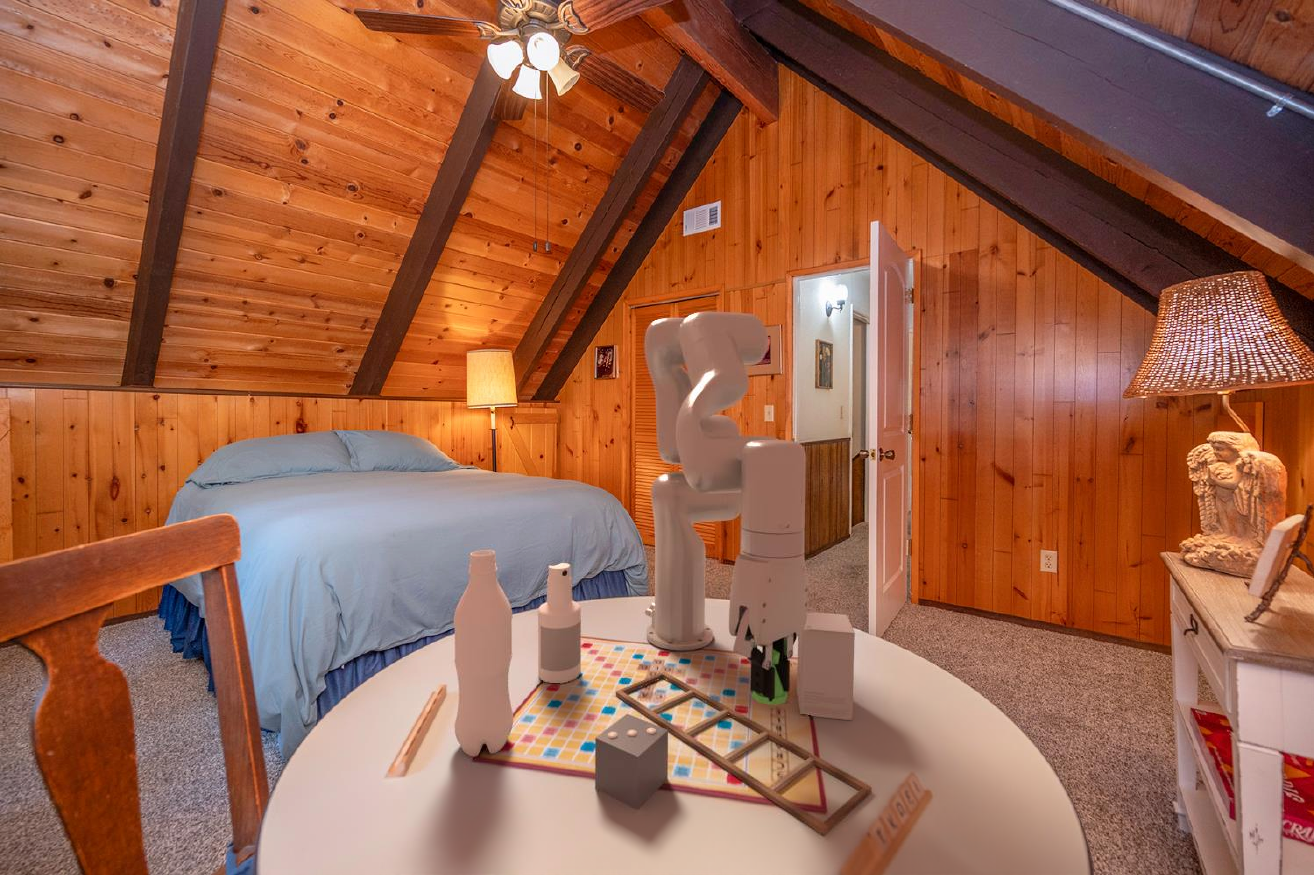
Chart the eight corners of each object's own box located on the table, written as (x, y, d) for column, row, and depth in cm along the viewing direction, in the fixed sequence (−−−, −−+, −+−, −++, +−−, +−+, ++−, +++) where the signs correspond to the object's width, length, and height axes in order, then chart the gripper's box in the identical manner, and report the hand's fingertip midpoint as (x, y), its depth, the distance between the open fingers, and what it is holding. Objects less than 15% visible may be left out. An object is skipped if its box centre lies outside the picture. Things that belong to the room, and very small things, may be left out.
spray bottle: (551, 689, 84) (551, 574, 83) (530, 673, 89) (530, 564, 88) (588, 675, 88) (588, 566, 87) (566, 660, 93) (566, 557, 93)
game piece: (749, 686, 68) (749, 639, 68) (783, 687, 68) (784, 640, 68) (754, 704, 64) (754, 654, 64) (790, 705, 64) (791, 655, 64)
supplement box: (853, 721, 76) (856, 633, 75) (798, 715, 77) (800, 628, 77) (846, 694, 83) (848, 613, 82) (796, 689, 84) (797, 609, 84)
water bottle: (524, 734, 72) (523, 548, 71) (490, 767, 65) (489, 563, 64) (479, 723, 75) (477, 544, 73) (442, 754, 68) (439, 557, 67)
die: (595, 788, 62) (595, 736, 62) (626, 760, 67) (627, 712, 67) (637, 810, 59) (637, 755, 58) (667, 779, 64) (668, 728, 63)
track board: (615, 695, 82) (615, 691, 82) (664, 675, 89) (664, 671, 89) (823, 835, 55) (823, 830, 55) (871, 792, 62) (871, 786, 62)
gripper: (786, 528, 73) (783, 662, 74) (703, 547, 63) (701, 702, 64) (836, 538, 68) (833, 683, 68) (754, 560, 57) (752, 730, 58)
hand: (769, 691), depth 66 cm, fingers closed on game piece, 2 cm apart
